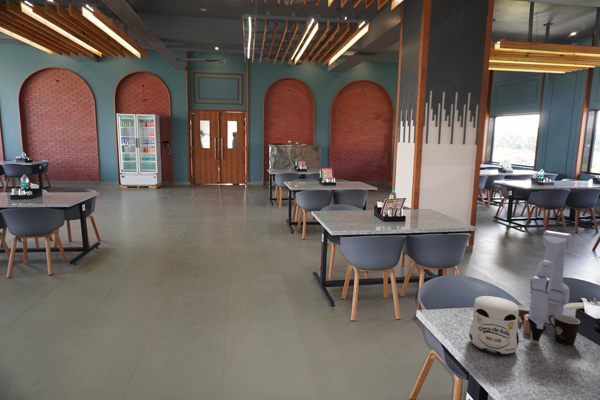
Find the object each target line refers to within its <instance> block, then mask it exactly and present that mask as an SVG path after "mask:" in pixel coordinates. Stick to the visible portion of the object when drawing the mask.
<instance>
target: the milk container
mask: <svg viewBox="0 0 600 400" xmlns="http://www.w3.org/2000/svg"><path fill="white" fill-rule="evenodd" d="M473 303H474V304H473V312H472V313H473V315H472V320H471V321H472V322H471V323H470V325H469V326H470V327H469V332H468V334H469V339H470V342H471V344H473V345H474V346H475V347H476V348H478V349H479V350H481V351H484V352H486V353H489V354H494V355H500V356H501V355H502V356H505V355H510V354H513V353H515V352H516V351H517V350H518V348H519V342H520V336H519V332H518V326H519V325H518V315H519V309H520V308H519V306H518V304H517V303H515V302H514V301H512V300H509V299H506V298H503V297H499V296H498V297H497V296H493V295H492V296H491V295H490V296H489V295H482V296H478V297H476V298H475V299H474V302H473Z"/></svg>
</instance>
